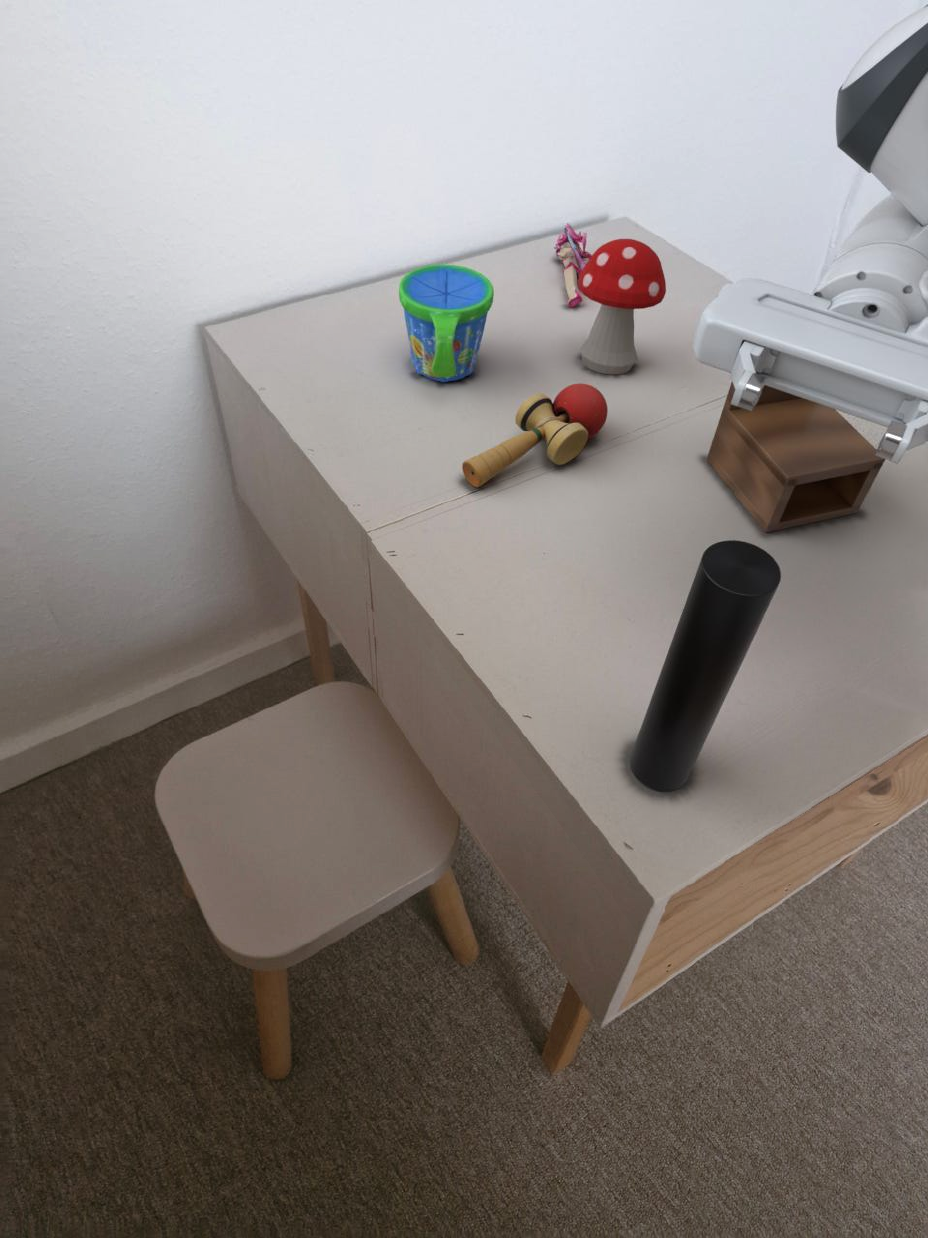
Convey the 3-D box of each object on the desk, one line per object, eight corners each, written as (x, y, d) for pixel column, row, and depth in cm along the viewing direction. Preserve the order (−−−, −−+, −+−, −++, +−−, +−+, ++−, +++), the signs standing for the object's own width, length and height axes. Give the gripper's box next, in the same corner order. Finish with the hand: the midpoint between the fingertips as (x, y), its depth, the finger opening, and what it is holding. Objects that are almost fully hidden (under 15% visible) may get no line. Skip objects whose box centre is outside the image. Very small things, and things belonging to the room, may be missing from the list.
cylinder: (697, 757, 66) (791, 558, 50) (676, 802, 64) (767, 607, 47) (643, 731, 68) (717, 529, 51) (620, 773, 65) (690, 575, 49)
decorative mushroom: (560, 375, 101) (579, 251, 90) (572, 338, 107) (590, 218, 95) (643, 389, 100) (673, 266, 89) (650, 351, 105) (679, 231, 94)
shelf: (857, 512, 87) (909, 414, 78) (765, 532, 84) (807, 433, 75) (792, 443, 94) (832, 346, 85) (706, 459, 92) (737, 361, 83)
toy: (581, 326, 114) (562, 266, 123) (619, 303, 112) (597, 244, 121) (556, 285, 109) (538, 226, 118) (596, 260, 107) (574, 202, 116)
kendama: (501, 518, 86) (627, 435, 92) (491, 467, 81) (624, 384, 87) (455, 488, 91) (577, 411, 97) (443, 439, 86) (572, 361, 92)
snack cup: (481, 409, 96) (487, 327, 88) (389, 400, 96) (387, 317, 89) (493, 337, 106) (499, 257, 99) (410, 328, 107) (410, 249, 99)
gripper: (742, 237, 61) (673, 328, 54) (1040, 326, 56) (1010, 441, 48) (718, 315, 66) (652, 408, 59) (989, 404, 61) (955, 520, 53)
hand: (815, 424), depth 53 cm, fingers open, 8 cm apart
